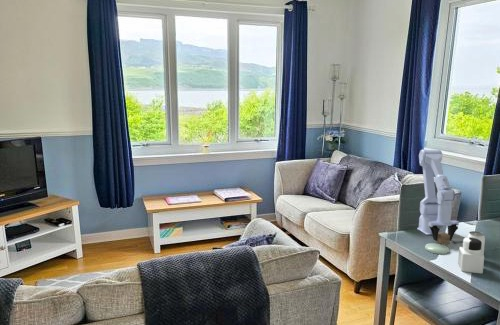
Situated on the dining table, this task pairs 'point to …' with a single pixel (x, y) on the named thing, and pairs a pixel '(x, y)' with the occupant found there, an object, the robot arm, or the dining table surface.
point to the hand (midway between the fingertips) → (442, 239)
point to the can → (478, 236)
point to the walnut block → (443, 238)
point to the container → (471, 256)
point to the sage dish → (436, 248)
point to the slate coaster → (457, 238)
